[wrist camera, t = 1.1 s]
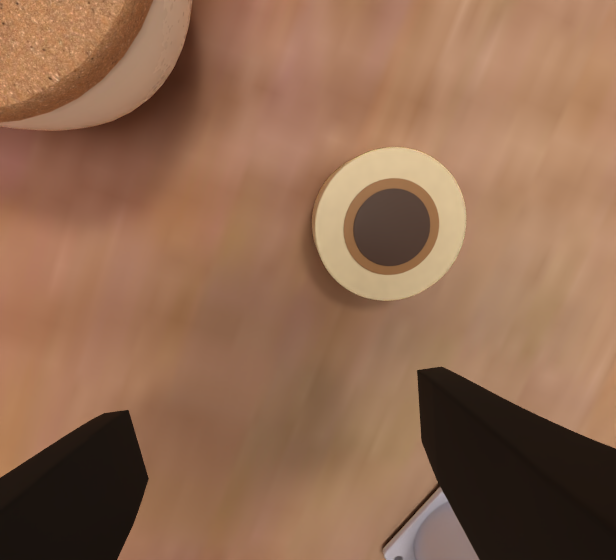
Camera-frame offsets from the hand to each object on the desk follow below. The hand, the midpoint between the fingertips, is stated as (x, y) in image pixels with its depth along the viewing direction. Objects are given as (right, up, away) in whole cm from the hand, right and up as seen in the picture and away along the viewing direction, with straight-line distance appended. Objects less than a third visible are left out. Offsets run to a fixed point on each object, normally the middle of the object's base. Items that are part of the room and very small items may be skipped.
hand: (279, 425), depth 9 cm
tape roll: (+4, +6, +9) cm, 11 cm away
